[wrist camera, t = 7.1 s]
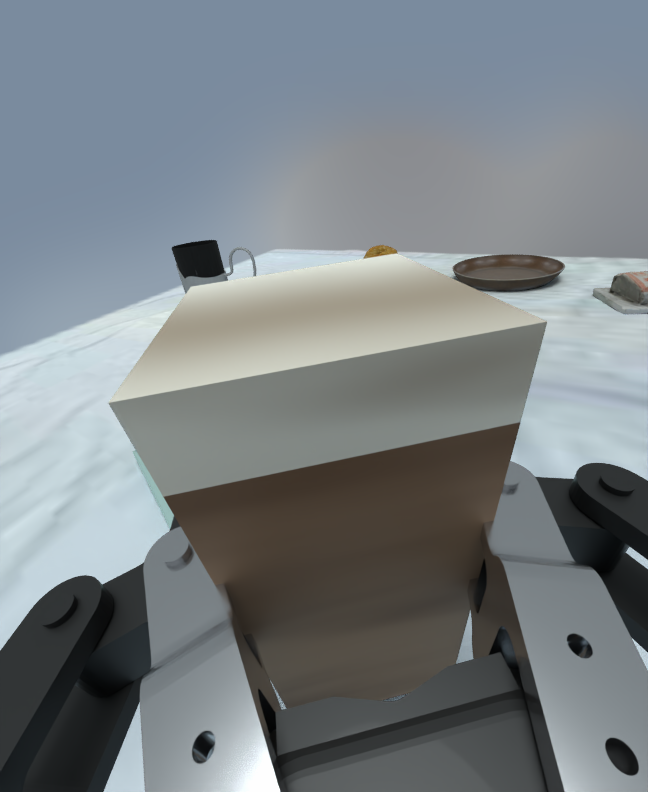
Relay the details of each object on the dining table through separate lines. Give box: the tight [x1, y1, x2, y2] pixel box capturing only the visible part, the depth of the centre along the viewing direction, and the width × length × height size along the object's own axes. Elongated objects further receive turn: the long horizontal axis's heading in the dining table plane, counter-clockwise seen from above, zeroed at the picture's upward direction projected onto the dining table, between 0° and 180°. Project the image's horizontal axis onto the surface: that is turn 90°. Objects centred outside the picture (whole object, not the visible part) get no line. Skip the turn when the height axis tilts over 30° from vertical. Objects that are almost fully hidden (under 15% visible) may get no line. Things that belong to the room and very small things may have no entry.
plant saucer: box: [453, 255, 565, 291], centre depth 69 cm, size 21×21×3 cm
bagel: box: [364, 245, 398, 259], centre depth 95 cm, size 10×11×5 cm
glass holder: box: [172, 240, 256, 293], centre depth 59 cm, size 9×14×15 cm, turn 85°
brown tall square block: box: [109, 253, 547, 709], centre depth 9 cm, size 5×5×12 cm
